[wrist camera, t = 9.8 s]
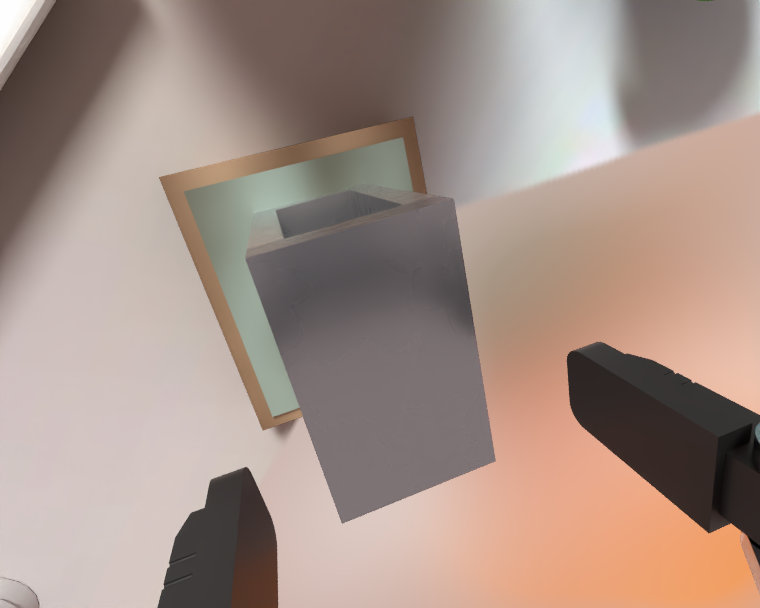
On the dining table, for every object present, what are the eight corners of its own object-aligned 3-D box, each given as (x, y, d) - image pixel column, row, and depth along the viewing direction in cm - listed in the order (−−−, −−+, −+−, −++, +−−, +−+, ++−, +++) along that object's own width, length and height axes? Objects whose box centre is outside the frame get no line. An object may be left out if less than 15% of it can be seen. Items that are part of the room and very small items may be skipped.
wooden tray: (395, 122, 23) (415, 115, 20) (437, 342, 28) (459, 364, 25) (172, 175, 21) (157, 177, 18) (262, 402, 26) (262, 433, 23)
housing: (365, 183, 20) (453, 198, 11) (403, 343, 23) (495, 461, 14) (253, 213, 19) (244, 258, 10) (309, 375, 23) (342, 523, 13)
